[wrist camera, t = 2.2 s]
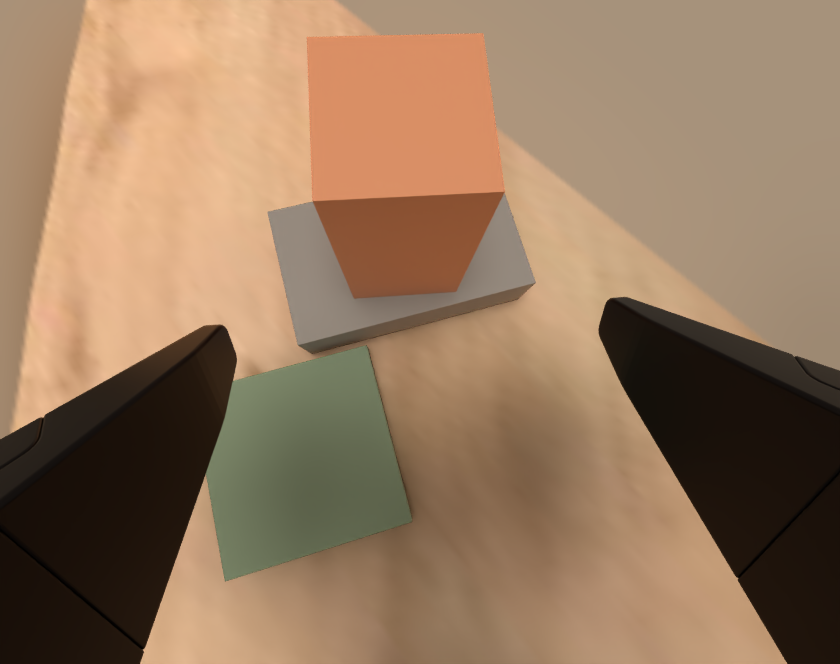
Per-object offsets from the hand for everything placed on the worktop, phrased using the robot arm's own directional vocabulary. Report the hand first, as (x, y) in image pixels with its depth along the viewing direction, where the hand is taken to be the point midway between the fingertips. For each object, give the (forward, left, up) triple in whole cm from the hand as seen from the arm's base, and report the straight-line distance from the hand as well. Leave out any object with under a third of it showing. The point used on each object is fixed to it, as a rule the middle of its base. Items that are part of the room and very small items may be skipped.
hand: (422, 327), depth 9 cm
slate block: (+6, -1, -12) cm, 14 cm away
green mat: (-3, +6, -12) cm, 14 cm away
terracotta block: (+6, -1, -9) cm, 11 cm away
